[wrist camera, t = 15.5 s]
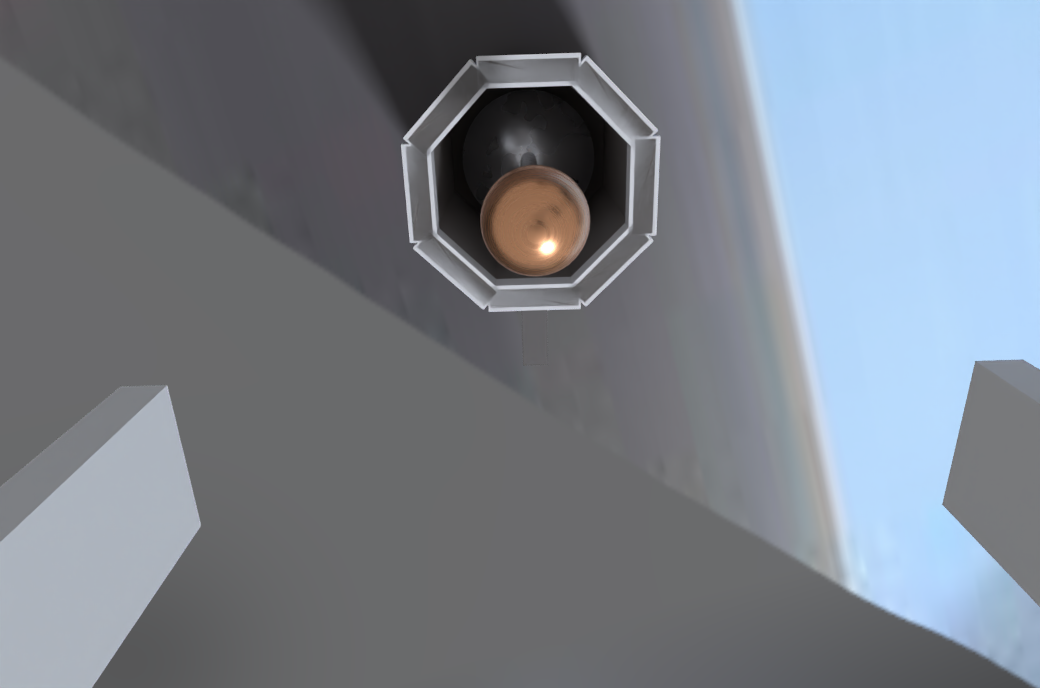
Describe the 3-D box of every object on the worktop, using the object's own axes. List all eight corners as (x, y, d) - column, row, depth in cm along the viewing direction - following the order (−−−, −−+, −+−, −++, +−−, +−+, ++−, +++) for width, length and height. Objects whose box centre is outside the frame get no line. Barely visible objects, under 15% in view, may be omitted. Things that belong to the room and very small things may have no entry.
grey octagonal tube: (428, 58, 45) (393, 58, 32) (622, 51, 45) (664, 49, 32) (446, 298, 52) (422, 379, 39) (616, 293, 51) (650, 372, 38)
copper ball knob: (459, 91, 44) (413, 119, 25) (593, 87, 44) (654, 112, 25) (467, 224, 47) (432, 342, 28) (592, 220, 47) (645, 335, 28)
